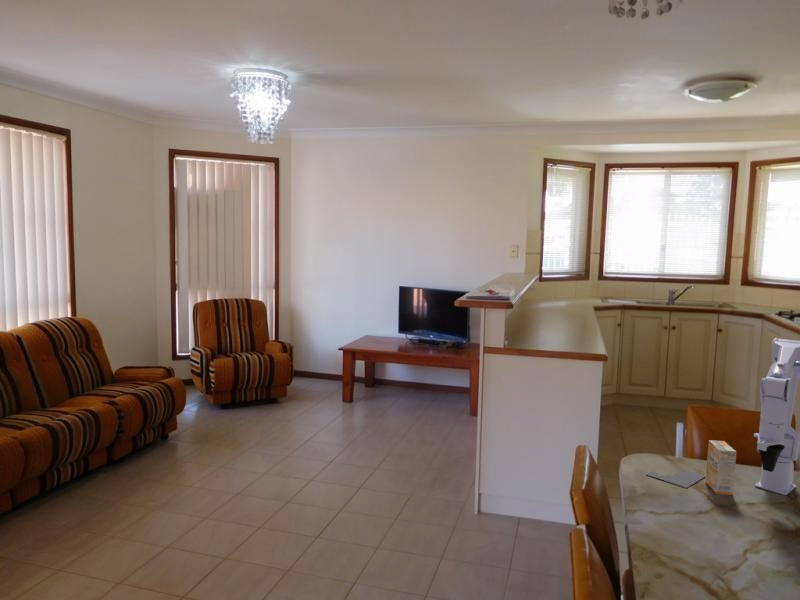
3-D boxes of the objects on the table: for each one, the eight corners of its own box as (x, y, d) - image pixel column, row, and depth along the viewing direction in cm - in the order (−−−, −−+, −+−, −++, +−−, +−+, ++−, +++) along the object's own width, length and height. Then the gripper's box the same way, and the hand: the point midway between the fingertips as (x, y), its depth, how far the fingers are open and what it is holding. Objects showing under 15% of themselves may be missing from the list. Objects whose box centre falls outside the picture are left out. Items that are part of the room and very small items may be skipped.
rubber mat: (665, 465, 187) (666, 464, 187) (705, 477, 178) (705, 476, 178) (646, 475, 178) (646, 474, 178) (686, 488, 169) (686, 487, 169)
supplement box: (704, 482, 174) (707, 439, 173) (721, 483, 173) (725, 440, 172) (715, 494, 166) (718, 449, 164) (733, 495, 165) (737, 450, 164)
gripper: (765, 413, 166) (761, 459, 167) (746, 422, 156) (742, 472, 158) (794, 419, 161) (789, 467, 162) (776, 429, 151) (771, 480, 153)
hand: (768, 470), depth 160 cm, fingers closed
